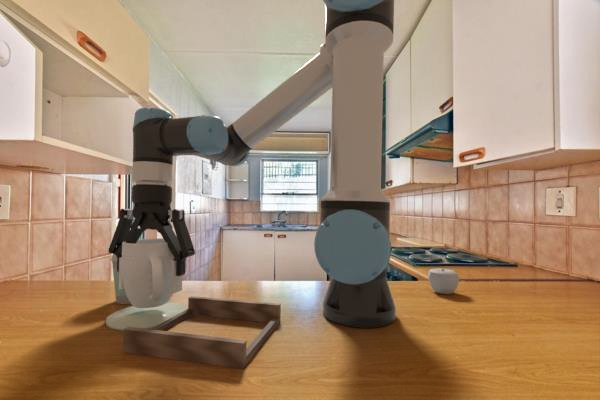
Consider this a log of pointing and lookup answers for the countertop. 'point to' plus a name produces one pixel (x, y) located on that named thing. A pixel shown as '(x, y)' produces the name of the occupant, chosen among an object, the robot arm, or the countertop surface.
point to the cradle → (199, 345)
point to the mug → (147, 272)
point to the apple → (443, 280)
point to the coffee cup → (120, 293)
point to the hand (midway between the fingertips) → (150, 289)
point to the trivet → (143, 316)
